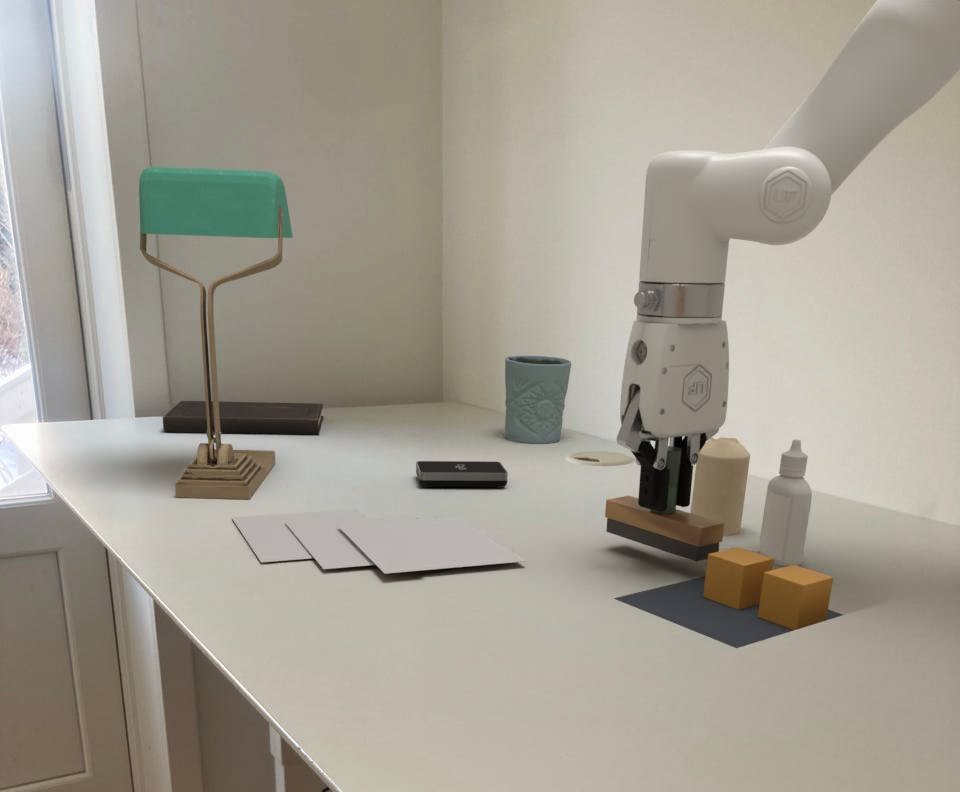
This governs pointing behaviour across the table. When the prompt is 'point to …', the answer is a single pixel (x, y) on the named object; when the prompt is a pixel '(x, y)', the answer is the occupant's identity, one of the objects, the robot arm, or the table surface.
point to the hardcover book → (246, 417)
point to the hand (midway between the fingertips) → (663, 504)
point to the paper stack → (372, 541)
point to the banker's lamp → (214, 212)
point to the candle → (721, 483)
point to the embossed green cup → (535, 397)
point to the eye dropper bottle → (787, 510)
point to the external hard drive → (461, 474)
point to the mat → (707, 613)
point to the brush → (665, 521)
